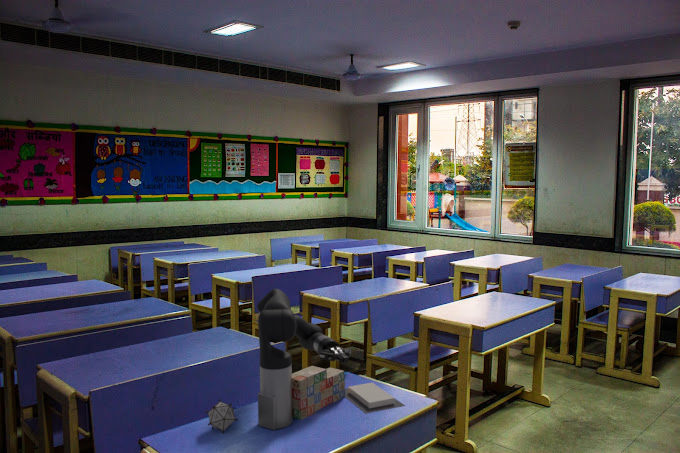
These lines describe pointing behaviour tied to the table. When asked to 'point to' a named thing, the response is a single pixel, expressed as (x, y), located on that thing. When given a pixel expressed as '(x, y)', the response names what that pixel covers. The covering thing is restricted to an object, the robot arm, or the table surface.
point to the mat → (369, 410)
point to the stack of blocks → (315, 390)
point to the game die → (221, 416)
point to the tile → (371, 395)
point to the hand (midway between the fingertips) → (345, 360)
